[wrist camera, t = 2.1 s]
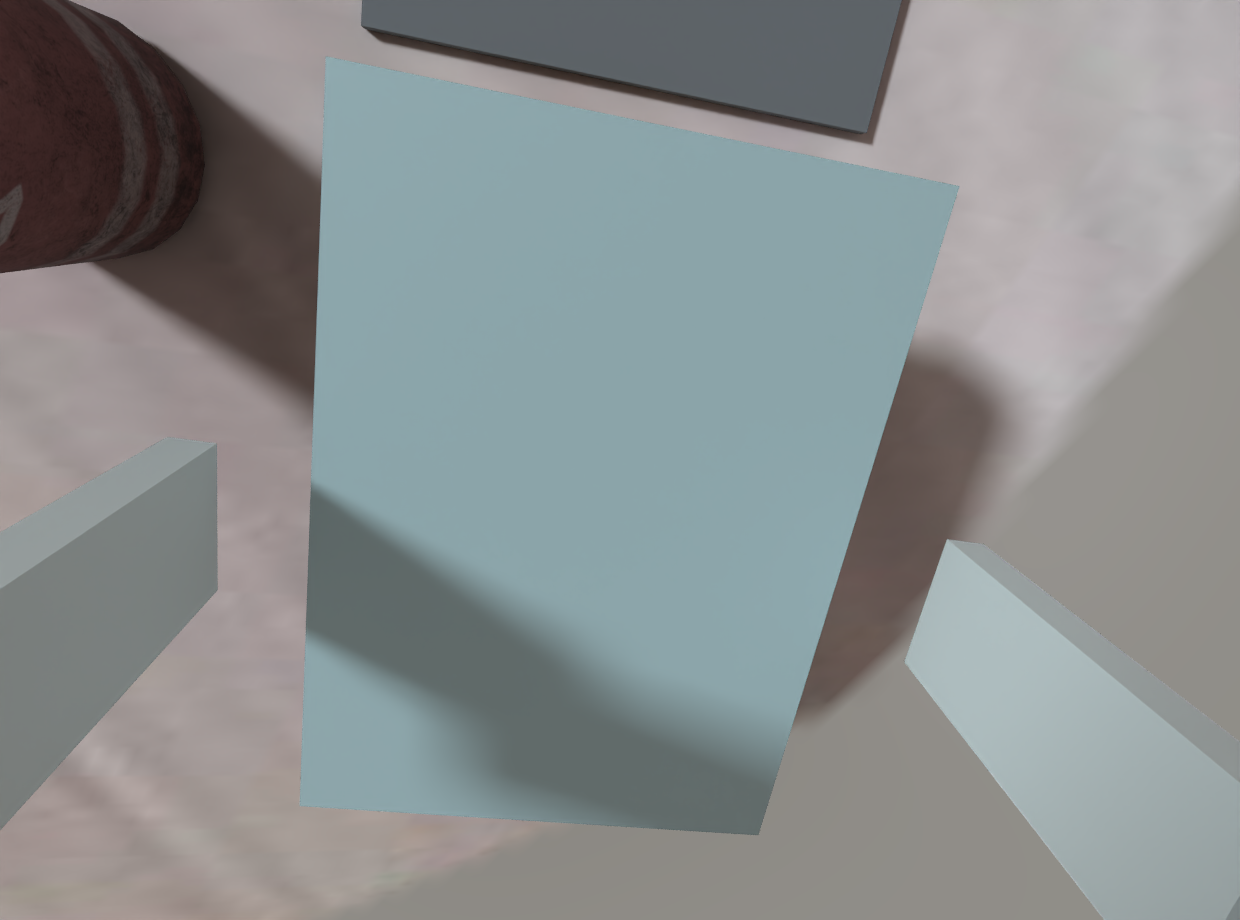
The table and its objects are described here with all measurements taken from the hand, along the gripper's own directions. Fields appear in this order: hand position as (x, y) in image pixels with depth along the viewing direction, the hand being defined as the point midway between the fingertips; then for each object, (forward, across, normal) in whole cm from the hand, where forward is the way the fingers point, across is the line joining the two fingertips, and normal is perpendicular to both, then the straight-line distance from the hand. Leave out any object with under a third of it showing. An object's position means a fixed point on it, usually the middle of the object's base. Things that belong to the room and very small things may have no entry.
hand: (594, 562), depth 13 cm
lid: (+4, 0, 0) cm, 4 cm away
